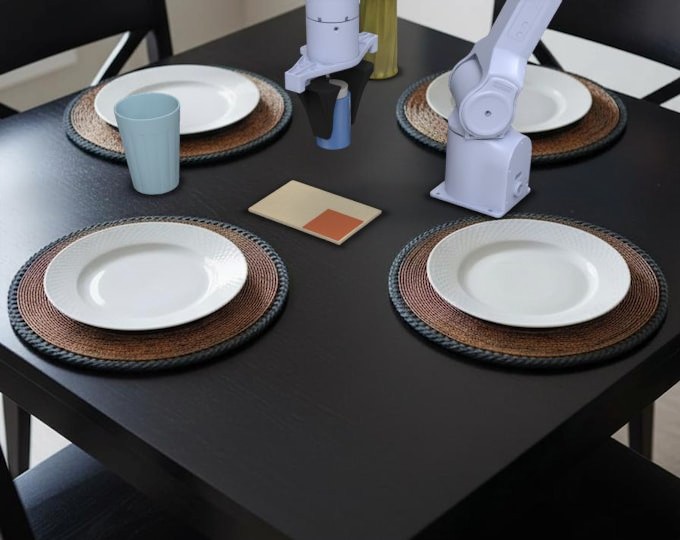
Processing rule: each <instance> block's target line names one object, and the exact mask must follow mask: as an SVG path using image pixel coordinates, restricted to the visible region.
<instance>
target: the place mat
mask: <svg viewBox="0 0 680 540" xmlns="http://www.w3.org/2000/svg"><path fill="white" fill-rule="evenodd" d="M248 212H250V213H252V214H255V215H257V216H260V217H263V218H265V219H268V220H271V221H274V222H276V223H279V224H282V225H284V226H287V227H290V228H293V229H296V230H298V231H301V232H303V233H306V234H309V235H311V236H314V237H317V238H319V239H322V240H325V241H327V242H331V243H333V244H335V245H338V246H340V245H341V244H342V243H344V242H345V241H346V240H348V239H349V238H351V237H352V236H353V235H354V234H356V233H357V232H358V231H360V230H361V229H363V228H364V227H365V226H367V225H368V224H369V223H370V222H372V221H373V220H375V219H376V218H377V217H378V216H380V215H381V214H382V210H381V209H378V208H375V207H373V206H370V205H366V204H364V203H361V202H357V201H356V200H355V201H354V200H352V199H349V198H346V197H344V196H341V195H337V194H334V193H332V192H328V191H325V190H323V189H321V188H317V187H315V186H311V185H309V184H305V183H302V182H301V181H297V180H294V179H293V180H292V179H291V180H290V181H289V182H287V183H286V184H284V185H283V186H281V187H280V188H278V189H276V190H275V191H274V192H272V193H270V194H268V195H267V196H265V197H264V198H262V199H261V200H260V201H258V202H256V203H255V204H253V205H252V206H250V207H249V208H248Z"/></svg>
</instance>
